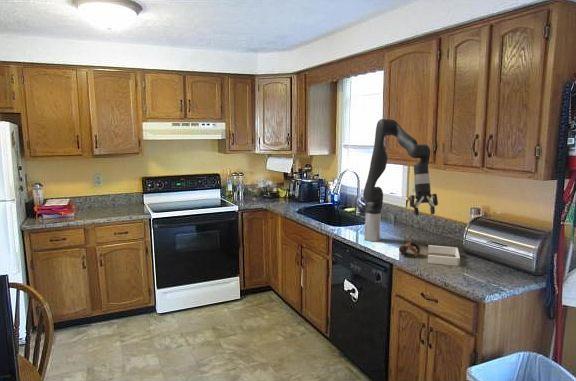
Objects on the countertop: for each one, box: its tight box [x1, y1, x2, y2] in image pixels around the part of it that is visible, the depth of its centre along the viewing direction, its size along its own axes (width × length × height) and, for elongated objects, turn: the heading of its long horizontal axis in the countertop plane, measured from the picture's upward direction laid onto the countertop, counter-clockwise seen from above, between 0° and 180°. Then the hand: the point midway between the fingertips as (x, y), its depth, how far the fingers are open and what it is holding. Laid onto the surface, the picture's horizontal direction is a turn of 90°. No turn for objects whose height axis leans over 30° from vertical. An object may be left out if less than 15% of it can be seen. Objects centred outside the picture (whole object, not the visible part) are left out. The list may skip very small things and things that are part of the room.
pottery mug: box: [398, 241, 421, 258], centre depth 218 cm, size 12×10×8 cm
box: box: [427, 244, 461, 267], centre depth 212 cm, size 15×20×4 cm
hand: (424, 214), depth 204 cm, fingers open, 8 cm apart
